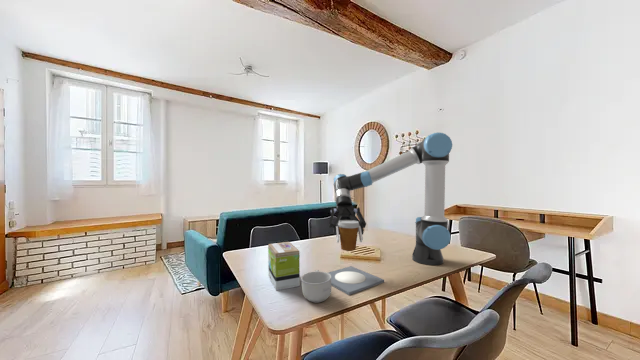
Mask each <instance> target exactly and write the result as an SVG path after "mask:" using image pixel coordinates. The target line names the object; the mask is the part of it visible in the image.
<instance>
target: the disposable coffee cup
mask: <svg viewBox="0 0 640 360" xmlns="http://www.w3.org/2000/svg"><path fill="white" fill-rule="evenodd" d="M337 226H338V232H339V242H340V248H341V250H343V251H345V252H346V251H347V252H353V251H355V250H356V249H357V241H358V235H359V234H358V227H359V222H358V221H355V220H352V219H340V220H339V222H338V224H337Z"/></svg>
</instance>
